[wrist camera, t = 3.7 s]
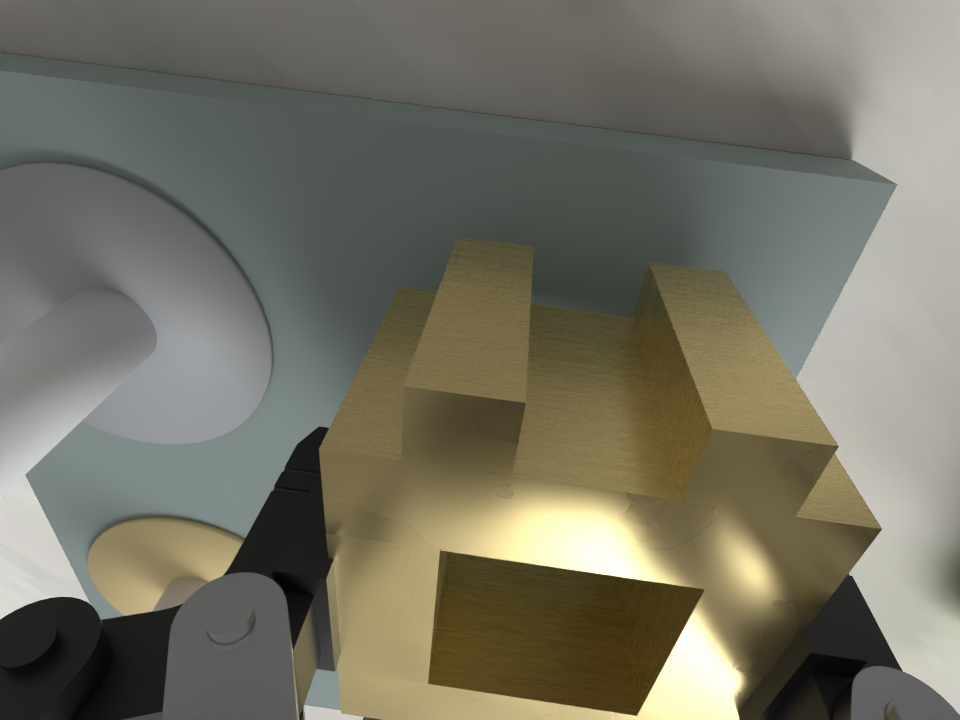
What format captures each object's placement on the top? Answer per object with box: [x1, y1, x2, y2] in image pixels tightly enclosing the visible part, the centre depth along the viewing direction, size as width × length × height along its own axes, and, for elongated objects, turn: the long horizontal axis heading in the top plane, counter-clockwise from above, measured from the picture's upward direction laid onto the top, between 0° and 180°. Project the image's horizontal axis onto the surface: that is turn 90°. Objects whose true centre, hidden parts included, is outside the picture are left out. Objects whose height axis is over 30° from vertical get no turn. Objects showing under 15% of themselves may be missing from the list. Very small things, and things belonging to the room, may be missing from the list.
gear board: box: [0, 52, 897, 710], centre depth 14 cm, size 18×21×6 cm
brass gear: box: [319, 237, 882, 720], centre depth 9 cm, size 6×8×4 cm
